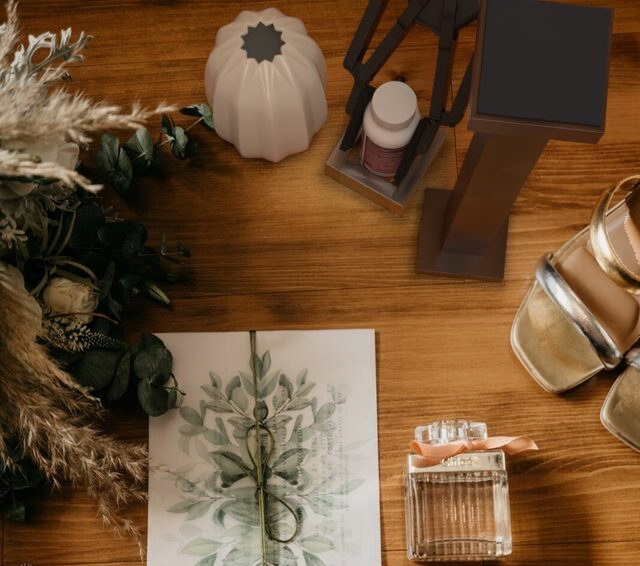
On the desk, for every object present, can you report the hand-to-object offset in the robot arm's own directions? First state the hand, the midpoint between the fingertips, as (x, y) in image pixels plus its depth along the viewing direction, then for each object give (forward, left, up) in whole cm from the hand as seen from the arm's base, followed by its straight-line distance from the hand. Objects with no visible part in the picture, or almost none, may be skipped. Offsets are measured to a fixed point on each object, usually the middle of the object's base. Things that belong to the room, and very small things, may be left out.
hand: (372, 162), depth 80 cm
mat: (-11, +5, +26) cm, 29 cm away
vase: (+13, -7, -5) cm, 15 cm away
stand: (-1, -3, -5) cm, 6 cm away
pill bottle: (-1, -3, -5) cm, 6 cm away
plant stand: (-11, +5, -5) cm, 14 cm away
